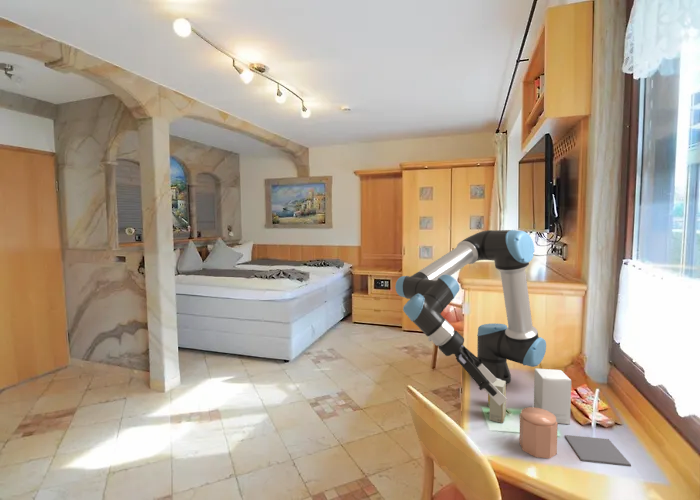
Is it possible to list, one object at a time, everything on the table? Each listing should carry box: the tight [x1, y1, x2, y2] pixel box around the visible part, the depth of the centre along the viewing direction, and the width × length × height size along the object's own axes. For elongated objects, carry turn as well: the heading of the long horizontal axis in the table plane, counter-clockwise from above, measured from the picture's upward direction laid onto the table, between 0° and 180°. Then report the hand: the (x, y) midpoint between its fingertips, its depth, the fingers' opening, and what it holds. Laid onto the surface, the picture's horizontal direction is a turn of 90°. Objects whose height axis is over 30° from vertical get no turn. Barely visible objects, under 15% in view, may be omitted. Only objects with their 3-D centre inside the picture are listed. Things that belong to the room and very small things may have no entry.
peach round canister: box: [519, 406, 559, 460], centre depth 105 cm, size 9×9×10 cm
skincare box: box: [488, 379, 507, 424], centre depth 123 cm, size 6×4×12 cm
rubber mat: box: [564, 434, 632, 467], centre depth 105 cm, size 12×12×1 cm
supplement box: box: [533, 367, 572, 425], centre depth 123 cm, size 9×9×15 cm
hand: (498, 391), depth 107 cm, fingers open, 13 cm apart
